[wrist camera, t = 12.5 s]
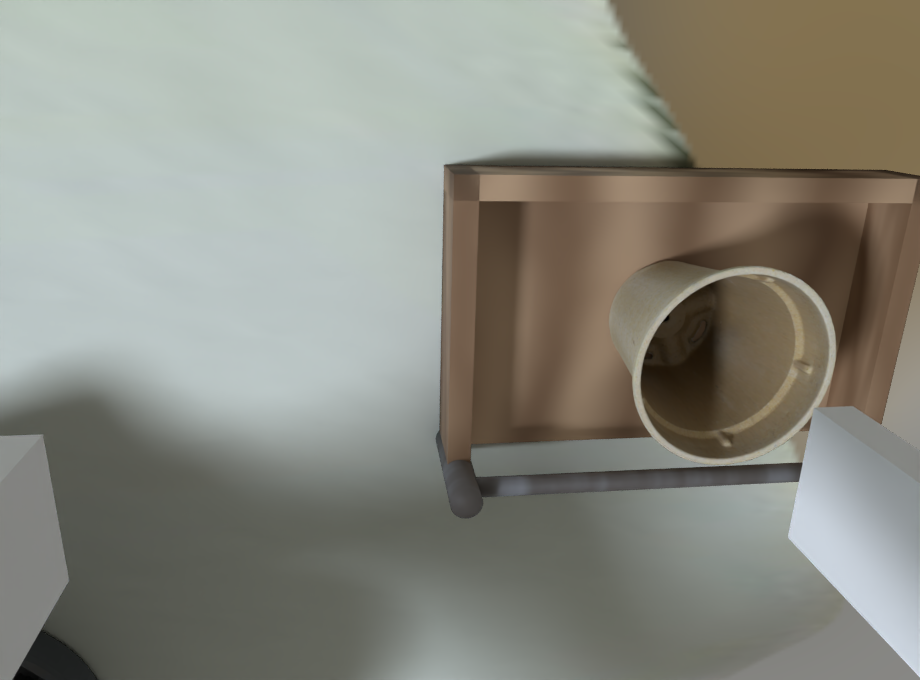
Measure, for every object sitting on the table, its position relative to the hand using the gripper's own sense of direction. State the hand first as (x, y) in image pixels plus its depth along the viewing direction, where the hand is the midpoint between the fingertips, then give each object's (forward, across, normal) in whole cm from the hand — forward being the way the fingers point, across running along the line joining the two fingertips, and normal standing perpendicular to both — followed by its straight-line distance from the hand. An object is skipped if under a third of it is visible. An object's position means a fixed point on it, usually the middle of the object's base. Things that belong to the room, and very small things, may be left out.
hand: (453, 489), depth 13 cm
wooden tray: (+27, +15, -5) cm, 31 cm away
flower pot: (+26, +15, -5) cm, 30 cm away
